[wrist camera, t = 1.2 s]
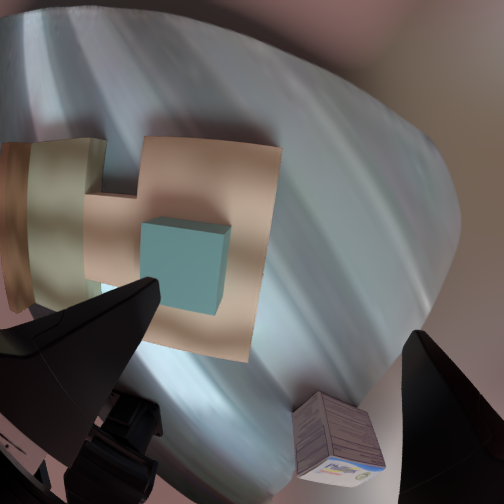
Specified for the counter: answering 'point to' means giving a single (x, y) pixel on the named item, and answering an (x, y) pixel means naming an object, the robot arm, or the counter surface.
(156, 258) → the teal block
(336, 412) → the medicine box
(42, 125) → the counter surface
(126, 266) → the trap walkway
